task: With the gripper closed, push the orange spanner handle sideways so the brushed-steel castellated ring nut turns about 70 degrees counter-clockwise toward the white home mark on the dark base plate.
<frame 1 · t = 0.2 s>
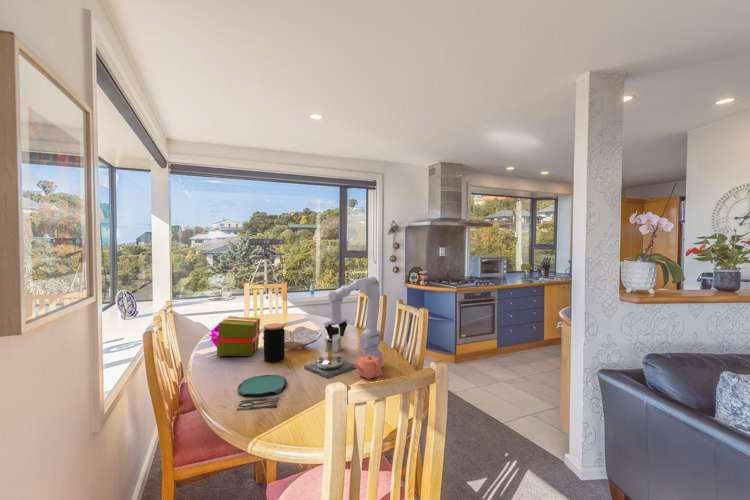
hand: (336, 337, 189), 10 cm above the table, tool pointing down, fingers open, 7 cm apart
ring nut: (330, 356, 172), point 5 cm above the table, hinge at 0.0°
base plate: (330, 368, 169), on the table
gift box: (234, 353, 195), on the table
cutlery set: (261, 394, 142), on the table
pumpkin: (367, 377, 159), on the table
container: (333, 350, 199), on the table
coffee jar: (274, 359, 183), on the table
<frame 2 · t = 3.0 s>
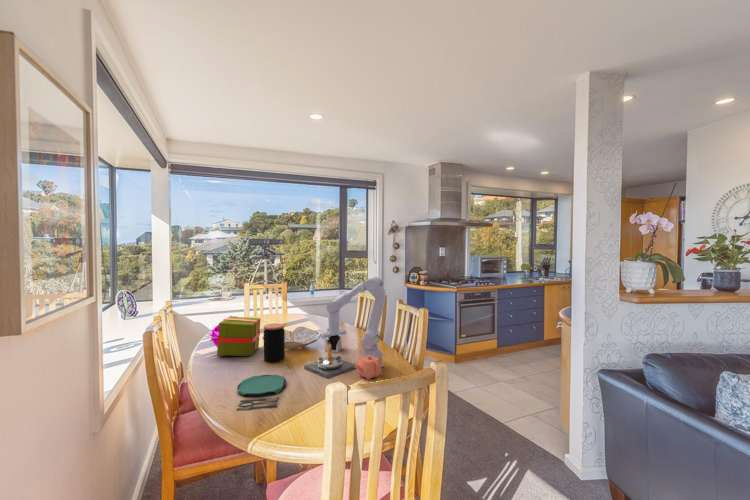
hand: (334, 349, 179), 6 cm above the table, tool pointing down, fingers closed
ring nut: (329, 356, 172), point 5 cm above the table, hinge at 3.9°, touching gripper
everything else where it was.
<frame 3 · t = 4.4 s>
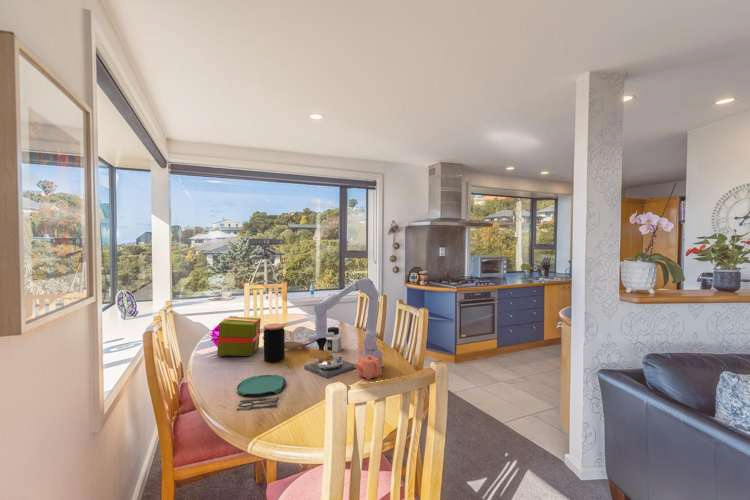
hand: (321, 352, 174), 6 cm above the table, tool pointing down, fingers closed, pressing on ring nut
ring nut: (325, 357, 171), point 5 cm above the table, hinge at 56.1°, touching gripper
everything else where it was.
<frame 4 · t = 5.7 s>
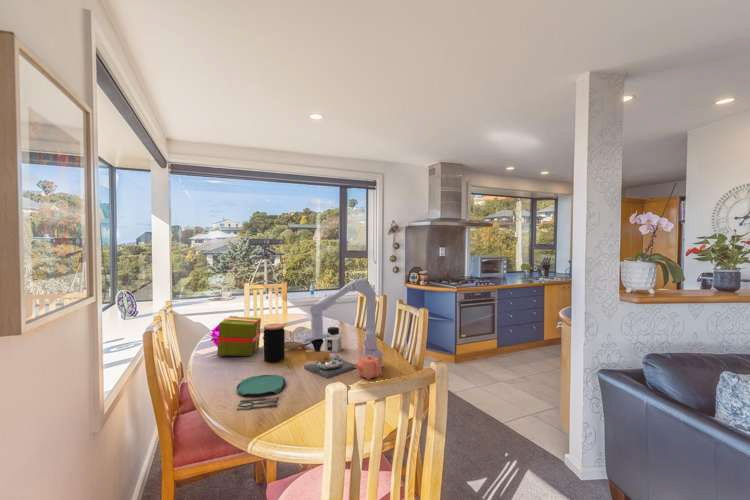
hand: (317, 354, 173), 6 cm above the table, tool pointing down, fingers closed
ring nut: (324, 357, 170), point 5 cm above the table, hinge at 79.8°, touching gripper
everything else where it was.
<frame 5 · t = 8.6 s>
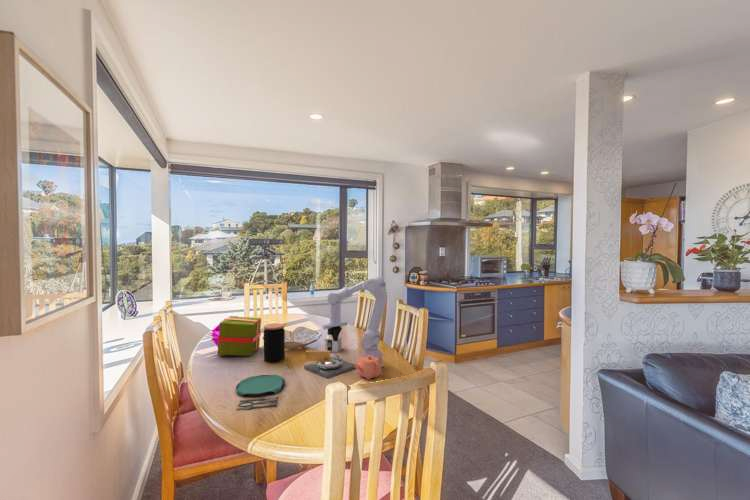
hand: (335, 340, 182), 10 cm above the table, tool pointing down, fingers closed
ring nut: (324, 357, 170), point 5 cm above the table, hinge at 79.9°
everything else where it was.
at the end: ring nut at +80° (first picture: +0°) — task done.
